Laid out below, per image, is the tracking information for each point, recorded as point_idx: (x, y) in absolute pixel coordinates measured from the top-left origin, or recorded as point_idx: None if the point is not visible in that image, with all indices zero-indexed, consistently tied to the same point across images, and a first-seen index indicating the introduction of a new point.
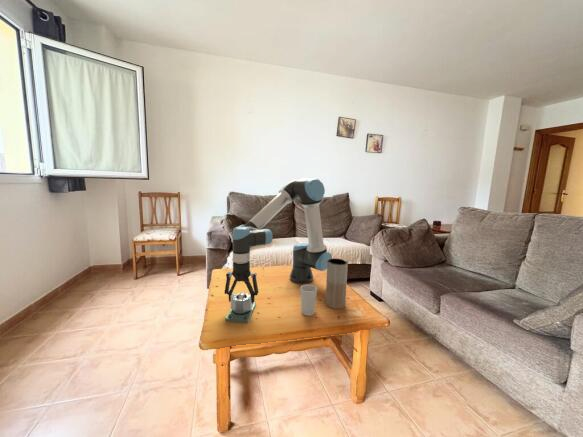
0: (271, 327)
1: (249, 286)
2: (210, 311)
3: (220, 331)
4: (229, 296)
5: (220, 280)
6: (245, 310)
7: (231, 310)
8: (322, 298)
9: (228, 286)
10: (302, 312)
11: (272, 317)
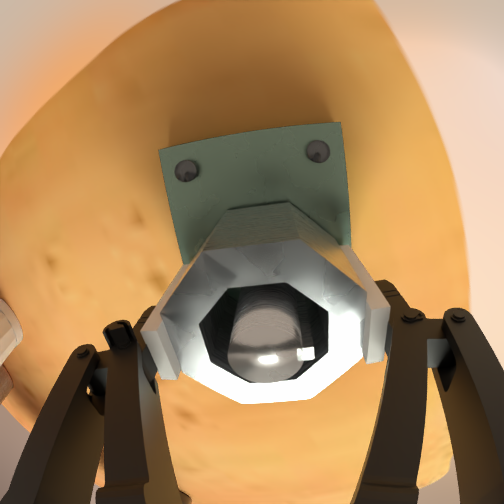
0: (42, 159)
1: (106, 434)
2: (464, 230)
3: (306, 19)
4: (400, 308)
5: (441, 451)
6: (209, 235)
7: (341, 242)
8: (29, 398)
9: (463, 394)
10: (6, 309)
11: (71, 252)
